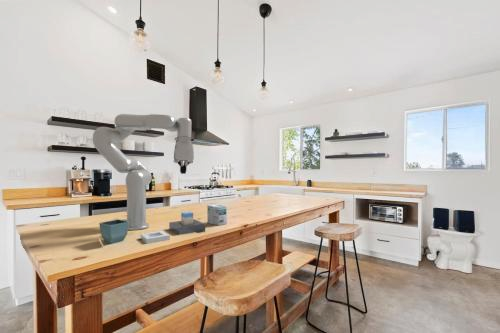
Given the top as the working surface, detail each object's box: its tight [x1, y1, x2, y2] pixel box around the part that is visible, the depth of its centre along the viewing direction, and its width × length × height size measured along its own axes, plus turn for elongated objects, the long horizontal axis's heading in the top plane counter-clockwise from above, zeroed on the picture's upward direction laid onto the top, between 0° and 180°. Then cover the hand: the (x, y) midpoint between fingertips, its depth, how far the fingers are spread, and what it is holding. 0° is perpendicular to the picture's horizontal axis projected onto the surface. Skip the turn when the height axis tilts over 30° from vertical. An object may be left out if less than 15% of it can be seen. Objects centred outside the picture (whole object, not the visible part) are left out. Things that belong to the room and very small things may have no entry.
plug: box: [180, 211, 194, 225], centre depth 128 cm, size 5×5×9 cm
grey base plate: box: [140, 230, 171, 245], centre depth 112 cm, size 10×10×2 cm
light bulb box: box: [206, 203, 228, 226], centre depth 146 cm, size 11×7×11 cm, turn 49°
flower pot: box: [98, 219, 129, 245], centre depth 108 cm, size 9×9×9 cm
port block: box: [168, 218, 206, 236], centre depth 129 cm, size 14×14×4 cm
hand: (183, 173), depth 136 cm, fingers closed
